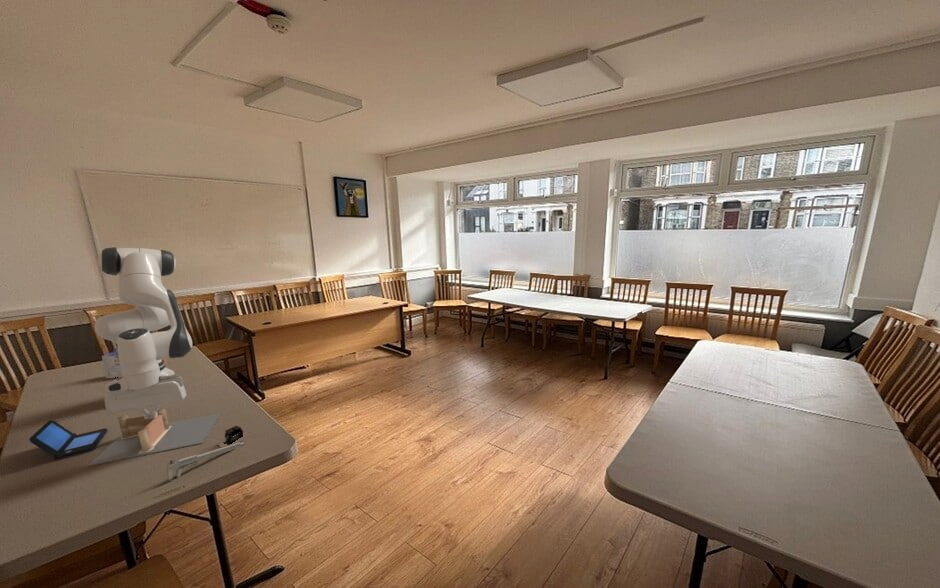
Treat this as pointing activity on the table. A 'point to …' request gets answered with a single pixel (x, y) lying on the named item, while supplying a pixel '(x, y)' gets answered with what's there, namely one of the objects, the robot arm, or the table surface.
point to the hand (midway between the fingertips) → (151, 417)
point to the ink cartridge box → (112, 365)
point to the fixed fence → (138, 423)
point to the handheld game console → (65, 440)
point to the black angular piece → (233, 434)
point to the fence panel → (151, 432)
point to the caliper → (195, 460)
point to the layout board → (160, 440)
